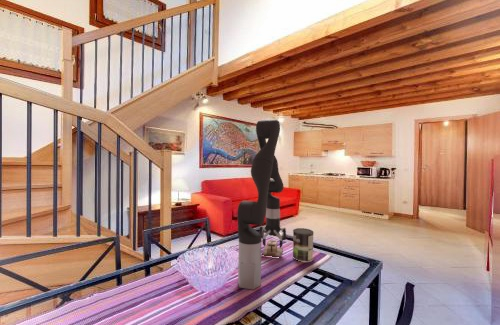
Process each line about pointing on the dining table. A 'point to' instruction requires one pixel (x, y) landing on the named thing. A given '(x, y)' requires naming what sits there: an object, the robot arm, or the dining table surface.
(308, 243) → the coffee can
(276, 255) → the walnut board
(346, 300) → the dining table surface
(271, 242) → the letter cube
